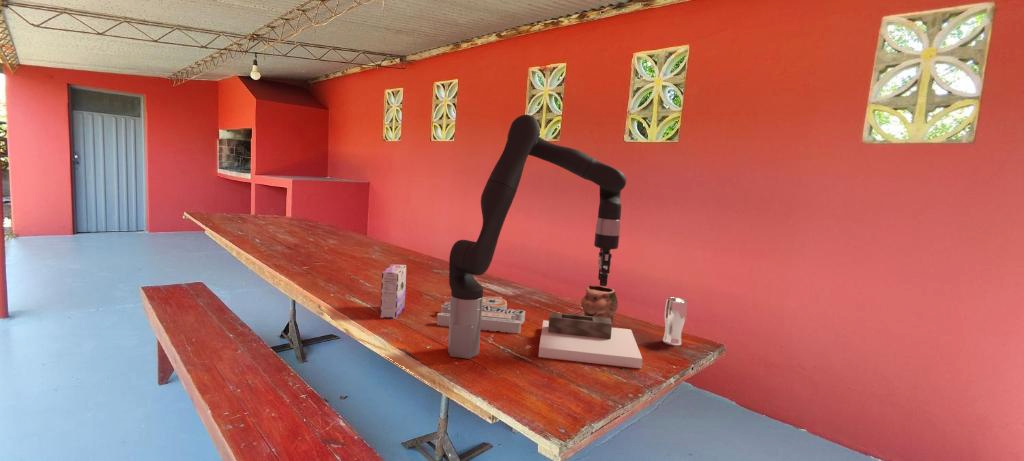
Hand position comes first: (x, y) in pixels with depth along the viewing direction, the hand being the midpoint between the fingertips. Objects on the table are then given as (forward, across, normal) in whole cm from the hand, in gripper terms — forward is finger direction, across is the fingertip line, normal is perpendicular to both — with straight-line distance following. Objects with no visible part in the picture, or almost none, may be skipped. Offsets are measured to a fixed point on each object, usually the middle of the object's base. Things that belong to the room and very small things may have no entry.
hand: (602, 282), depth 158 cm
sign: (+21, +16, +40) cm, 48 cm away
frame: (+17, 0, +6) cm, 18 cm away
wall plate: (+20, -4, +3) cm, 21 cm away
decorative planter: (+20, +20, -2) cm, 29 cm away
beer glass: (+20, +10, -26) cm, 34 cm away
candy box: (+21, +8, +72) cm, 75 cm away
